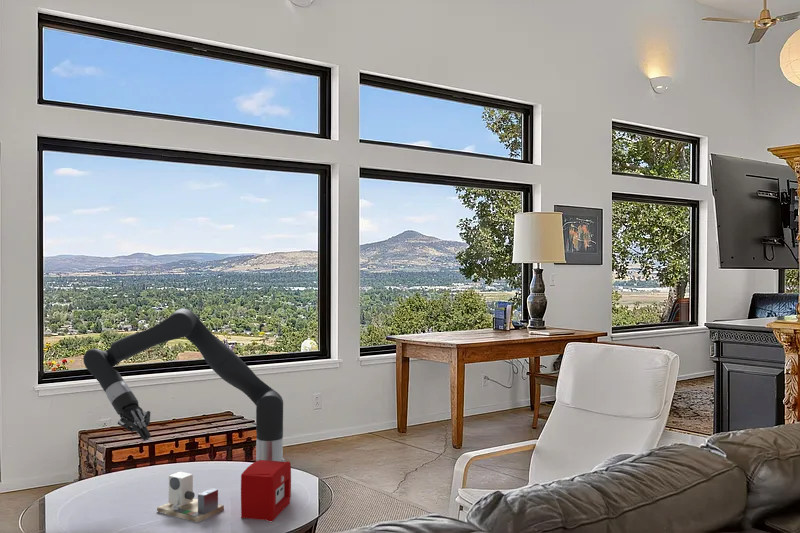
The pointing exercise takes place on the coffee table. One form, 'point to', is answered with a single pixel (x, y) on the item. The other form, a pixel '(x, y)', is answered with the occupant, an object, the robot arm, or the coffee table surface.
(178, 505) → the grey metal lever
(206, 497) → the grey metal square plate
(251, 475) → the fire alarm
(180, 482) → the block
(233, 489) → the coffee table surface
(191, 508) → the gauge stand
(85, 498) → the coffee table surface
